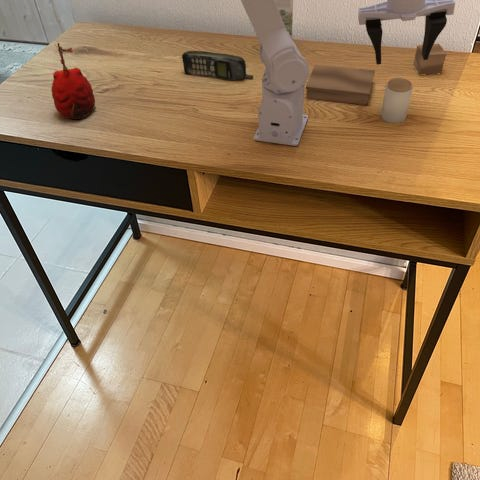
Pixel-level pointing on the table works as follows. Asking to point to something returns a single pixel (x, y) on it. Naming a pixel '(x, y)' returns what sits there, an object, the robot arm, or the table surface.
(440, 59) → the walnut block
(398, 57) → the table surface
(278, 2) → the syrup box
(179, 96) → the table surface
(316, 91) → the wooden brick
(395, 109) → the stoneware jar
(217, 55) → the mobile phone
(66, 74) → the red bumpy rounded piece
